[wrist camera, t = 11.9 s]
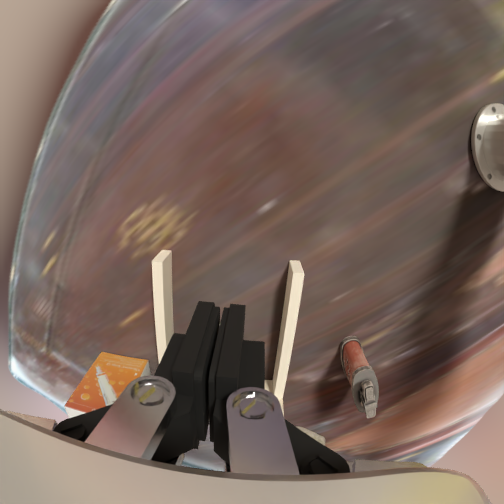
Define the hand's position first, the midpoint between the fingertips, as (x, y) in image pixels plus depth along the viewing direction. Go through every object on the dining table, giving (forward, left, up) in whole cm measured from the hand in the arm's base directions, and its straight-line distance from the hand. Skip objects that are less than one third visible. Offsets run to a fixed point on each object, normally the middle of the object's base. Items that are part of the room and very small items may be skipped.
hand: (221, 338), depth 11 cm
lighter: (-17, +19, -25) cm, 36 cm away
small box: (+16, +25, -25) cm, 40 cm away
